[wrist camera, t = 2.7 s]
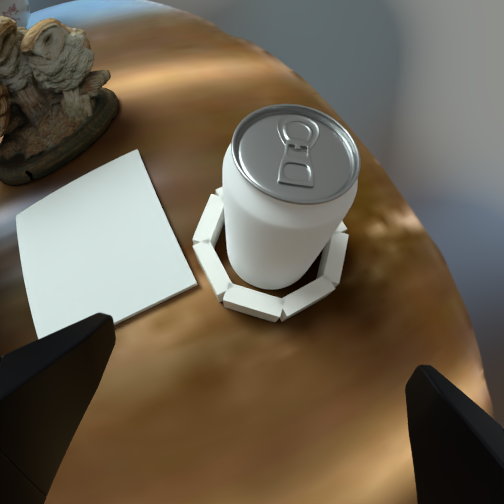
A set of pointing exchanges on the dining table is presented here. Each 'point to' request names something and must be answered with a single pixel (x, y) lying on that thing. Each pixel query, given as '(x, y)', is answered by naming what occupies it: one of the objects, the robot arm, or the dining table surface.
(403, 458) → the dining table surface
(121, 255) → the mat
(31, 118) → the owl figurine
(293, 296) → the ring
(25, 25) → the chamber pot
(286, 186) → the can
